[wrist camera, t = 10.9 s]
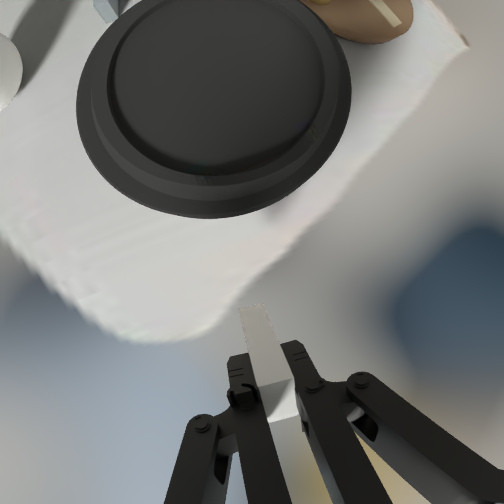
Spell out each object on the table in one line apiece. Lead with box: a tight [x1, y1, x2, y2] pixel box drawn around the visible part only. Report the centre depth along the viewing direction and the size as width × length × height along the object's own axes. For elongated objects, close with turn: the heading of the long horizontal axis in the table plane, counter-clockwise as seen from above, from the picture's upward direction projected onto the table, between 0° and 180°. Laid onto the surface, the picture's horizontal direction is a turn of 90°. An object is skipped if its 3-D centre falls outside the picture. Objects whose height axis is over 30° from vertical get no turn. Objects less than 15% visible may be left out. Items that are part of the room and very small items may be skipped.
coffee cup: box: [76, 0, 352, 219], centre depth 12 cm, size 9×9×15 cm
